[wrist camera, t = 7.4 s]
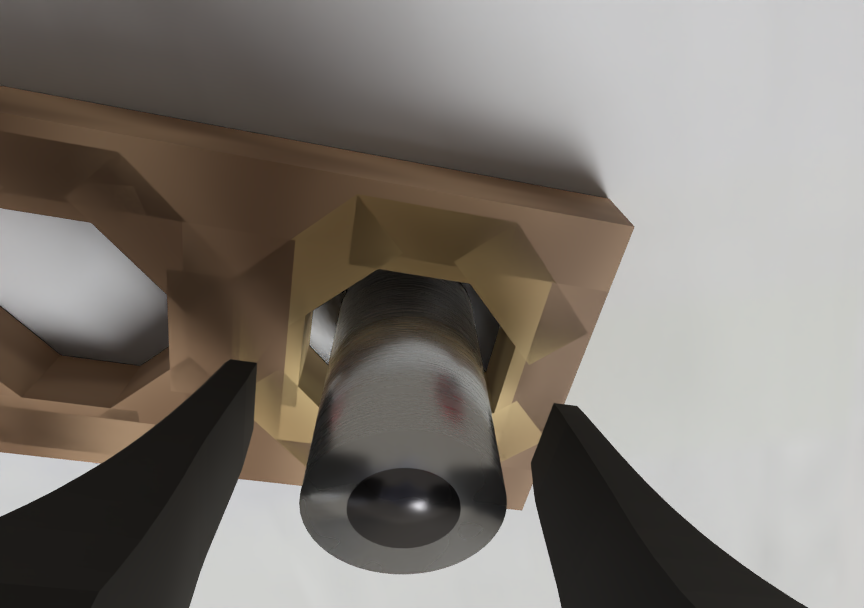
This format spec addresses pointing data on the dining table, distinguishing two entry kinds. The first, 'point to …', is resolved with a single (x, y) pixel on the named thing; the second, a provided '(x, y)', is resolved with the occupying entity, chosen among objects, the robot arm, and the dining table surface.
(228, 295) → the jig plate
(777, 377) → the dining table surface
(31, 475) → the dining table surface
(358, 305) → the bushing
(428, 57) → the dining table surface
